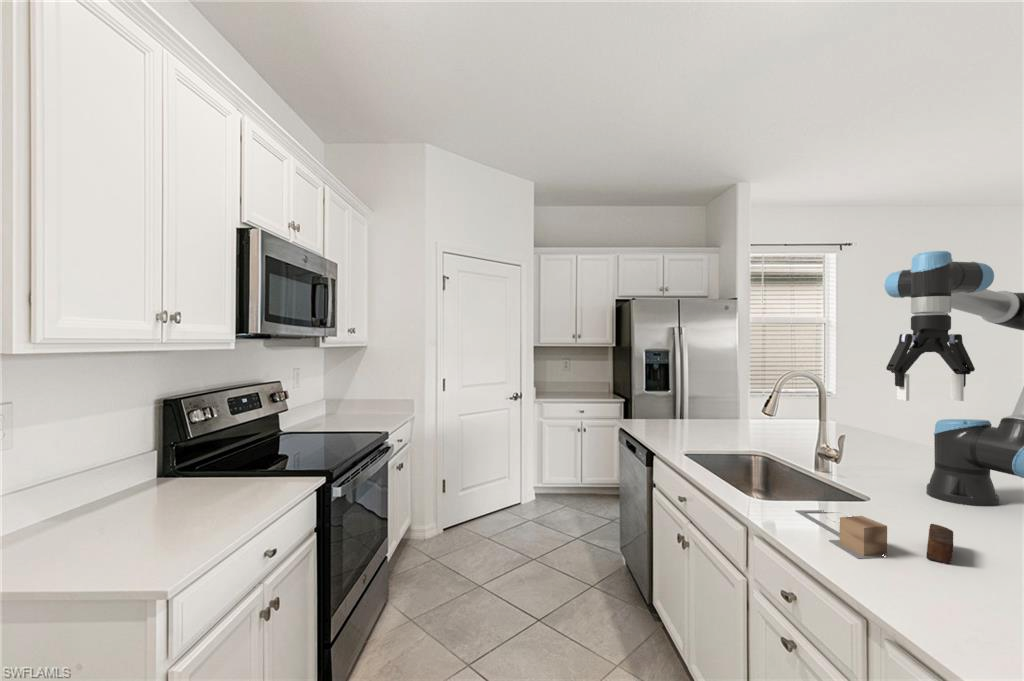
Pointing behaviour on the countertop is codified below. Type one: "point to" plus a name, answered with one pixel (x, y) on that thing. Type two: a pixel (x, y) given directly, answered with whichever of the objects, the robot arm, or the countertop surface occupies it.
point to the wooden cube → (863, 535)
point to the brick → (940, 544)
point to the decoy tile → (855, 552)
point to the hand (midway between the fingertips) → (929, 400)
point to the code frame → (803, 512)
